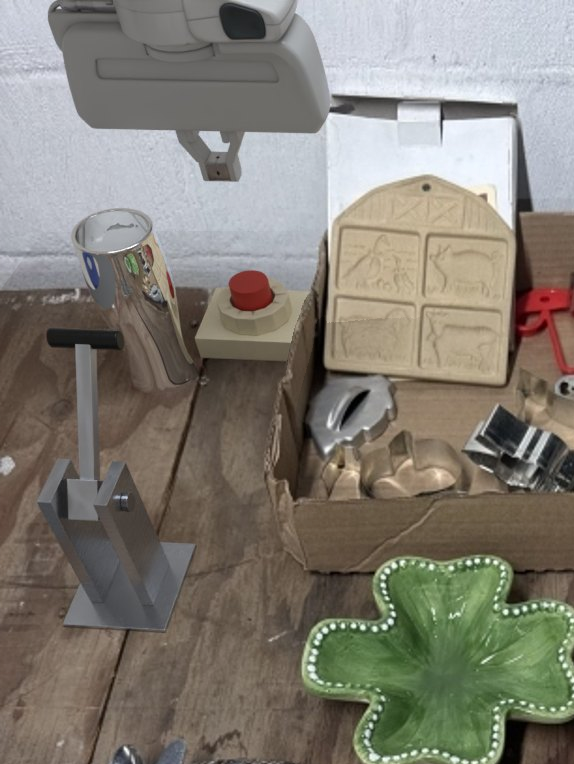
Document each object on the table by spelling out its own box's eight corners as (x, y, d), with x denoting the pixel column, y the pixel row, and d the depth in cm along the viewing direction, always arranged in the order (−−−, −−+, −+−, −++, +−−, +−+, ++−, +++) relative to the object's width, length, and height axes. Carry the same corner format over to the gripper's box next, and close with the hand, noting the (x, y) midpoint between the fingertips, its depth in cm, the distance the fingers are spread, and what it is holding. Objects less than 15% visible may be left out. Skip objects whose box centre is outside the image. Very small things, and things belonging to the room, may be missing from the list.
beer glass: (190, 409, 97) (136, 257, 85) (117, 402, 98) (54, 250, 85) (215, 361, 101) (167, 209, 89) (145, 355, 102) (88, 203, 89)
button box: (200, 358, 101) (188, 321, 98) (221, 307, 106) (210, 270, 103) (304, 362, 101) (295, 325, 98) (321, 311, 105) (313, 274, 102)
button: (229, 311, 99) (224, 292, 98) (239, 288, 101) (233, 269, 100) (267, 313, 99) (262, 293, 98) (276, 290, 101) (271, 270, 100)
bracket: (104, 548, 87) (47, 435, 78) (199, 553, 87) (155, 440, 77) (67, 634, 82) (2, 524, 73) (169, 639, 82) (117, 530, 72)
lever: (58, 330, 76) (41, 324, 73) (128, 333, 75) (112, 327, 73) (65, 518, 78) (48, 518, 76) (132, 521, 78) (117, 521, 75)
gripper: (23, 12, 78) (92, 195, 90) (298, 16, 77) (333, 201, 88) (52, -25, 82) (115, 155, 93) (315, -22, 80) (346, 161, 92)
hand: (223, 178), depth 91 cm, fingers closed
